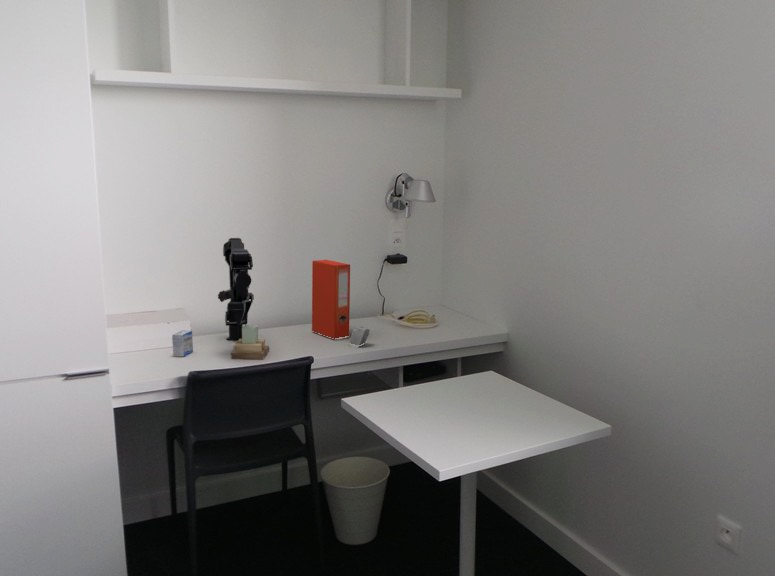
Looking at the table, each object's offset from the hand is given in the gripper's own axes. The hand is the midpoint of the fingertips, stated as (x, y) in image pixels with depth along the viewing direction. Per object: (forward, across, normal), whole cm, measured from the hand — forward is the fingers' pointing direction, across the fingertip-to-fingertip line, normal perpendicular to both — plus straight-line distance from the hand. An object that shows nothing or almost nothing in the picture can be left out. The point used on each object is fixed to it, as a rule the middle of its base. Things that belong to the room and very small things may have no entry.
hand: (241, 322), depth 269 cm
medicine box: (+12, +5, -22) cm, 25 cm away
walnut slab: (+13, +4, +4) cm, 14 cm away
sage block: (+7, +4, +4) cm, 9 cm away
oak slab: (+10, +5, +4) cm, 11 cm away
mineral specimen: (+12, -14, +46) cm, 49 cm away
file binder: (+13, -30, +32) cm, 46 cm away
